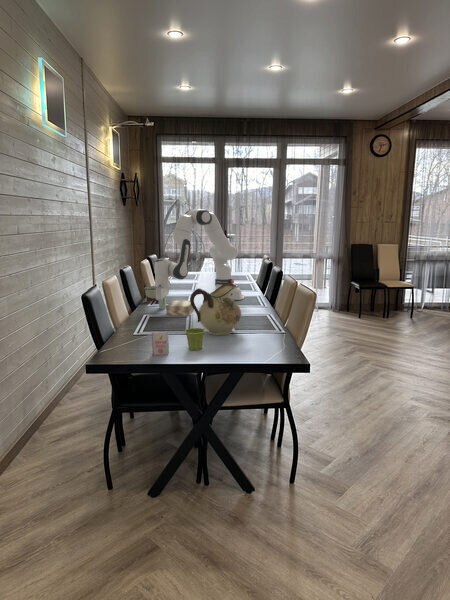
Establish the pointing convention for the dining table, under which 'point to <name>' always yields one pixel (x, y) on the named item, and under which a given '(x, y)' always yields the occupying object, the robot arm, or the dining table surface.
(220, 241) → the robot arm
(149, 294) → the food container
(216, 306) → the pitcher
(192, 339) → the plant pot
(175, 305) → the birch riser block
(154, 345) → the white printed box
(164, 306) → the sage block
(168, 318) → the dining table surface
